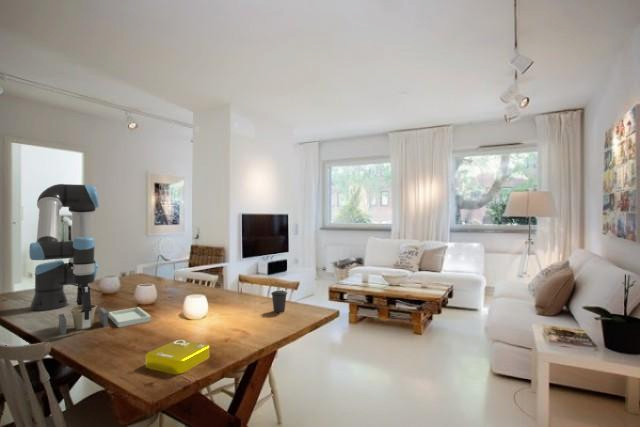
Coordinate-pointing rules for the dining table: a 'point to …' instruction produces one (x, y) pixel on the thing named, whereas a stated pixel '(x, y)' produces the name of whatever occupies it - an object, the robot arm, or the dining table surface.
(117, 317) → the tray
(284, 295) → the coffee cup
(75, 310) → the flower pot
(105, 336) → the dining table surface
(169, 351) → the element tile
